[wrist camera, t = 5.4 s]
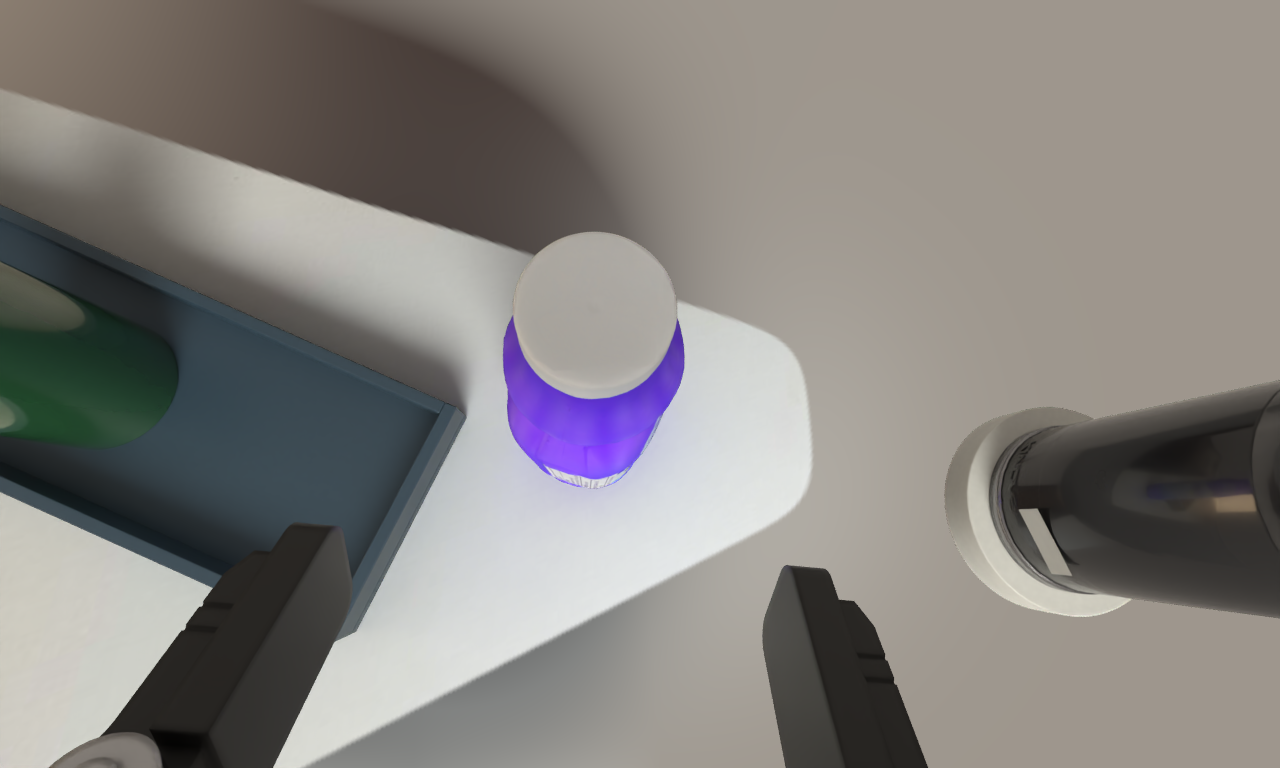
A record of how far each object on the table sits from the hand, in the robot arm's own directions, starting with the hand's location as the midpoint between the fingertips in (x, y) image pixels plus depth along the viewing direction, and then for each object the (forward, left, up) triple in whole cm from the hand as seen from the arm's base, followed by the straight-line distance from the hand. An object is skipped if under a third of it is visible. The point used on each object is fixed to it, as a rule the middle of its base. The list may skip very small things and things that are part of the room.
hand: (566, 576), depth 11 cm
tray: (+24, +2, -19) cm, 31 cm away
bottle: (+2, -6, -20) cm, 21 cm away
